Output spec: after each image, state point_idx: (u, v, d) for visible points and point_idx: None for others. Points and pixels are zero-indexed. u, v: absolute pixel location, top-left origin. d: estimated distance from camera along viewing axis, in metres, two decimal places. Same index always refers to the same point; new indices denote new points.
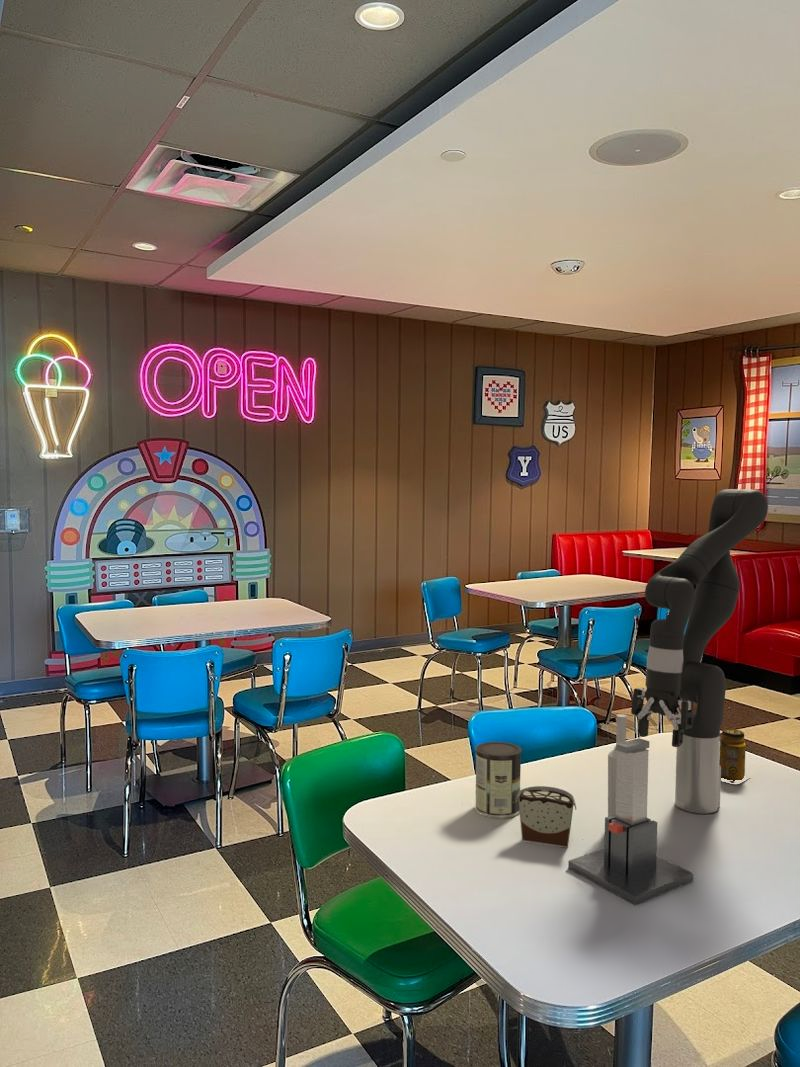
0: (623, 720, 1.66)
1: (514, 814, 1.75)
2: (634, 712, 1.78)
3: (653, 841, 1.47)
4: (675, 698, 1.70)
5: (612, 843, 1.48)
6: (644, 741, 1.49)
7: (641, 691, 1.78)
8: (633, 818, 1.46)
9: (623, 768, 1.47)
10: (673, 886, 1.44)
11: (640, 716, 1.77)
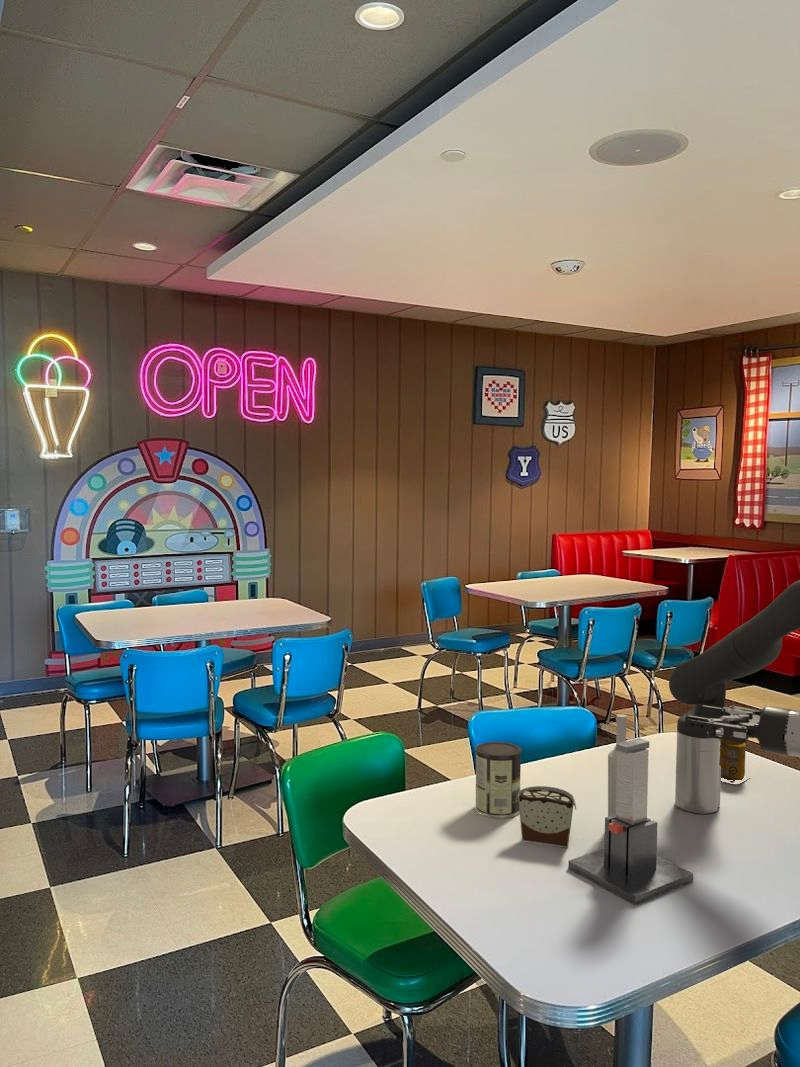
0: (623, 720, 1.66)
1: (514, 814, 1.75)
2: None
3: (653, 841, 1.47)
4: None
5: (612, 843, 1.48)
6: (644, 741, 1.49)
7: None
8: (633, 818, 1.46)
9: (623, 768, 1.47)
10: (673, 886, 1.44)
11: None
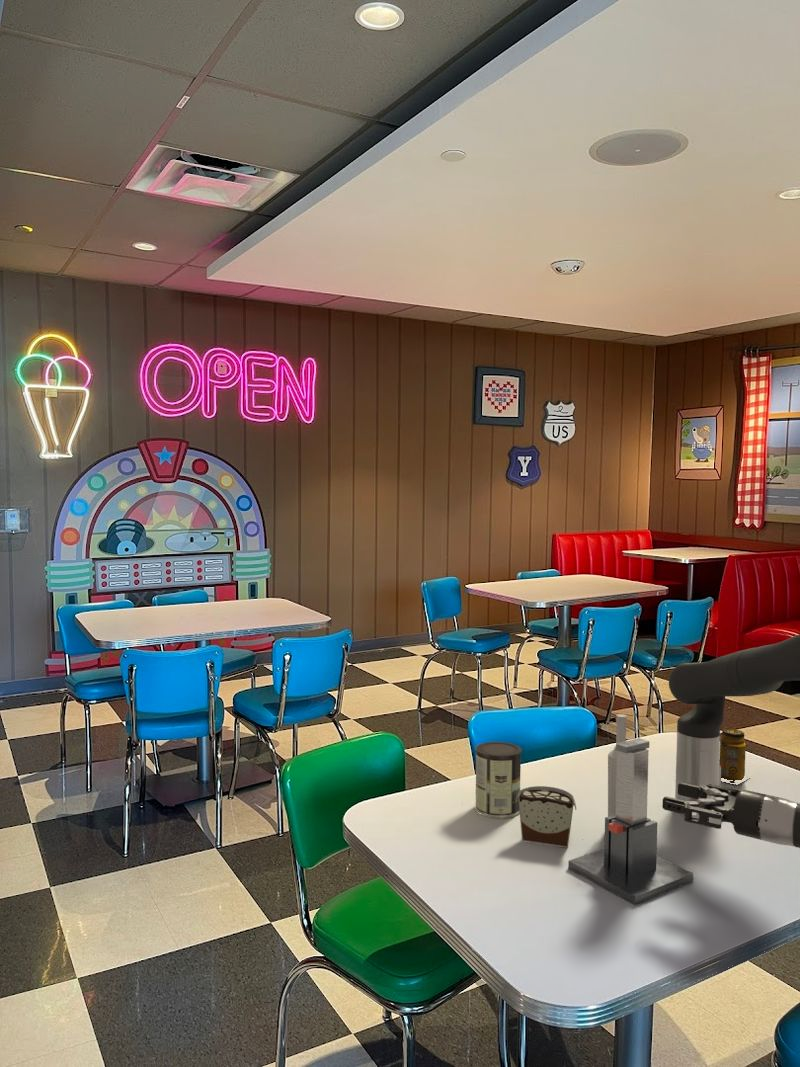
0: (623, 720, 1.66)
1: (514, 814, 1.75)
2: None
3: (653, 841, 1.47)
4: None
5: (612, 843, 1.48)
6: (644, 741, 1.49)
7: None
8: (633, 818, 1.46)
9: (623, 768, 1.47)
10: (673, 886, 1.44)
11: None
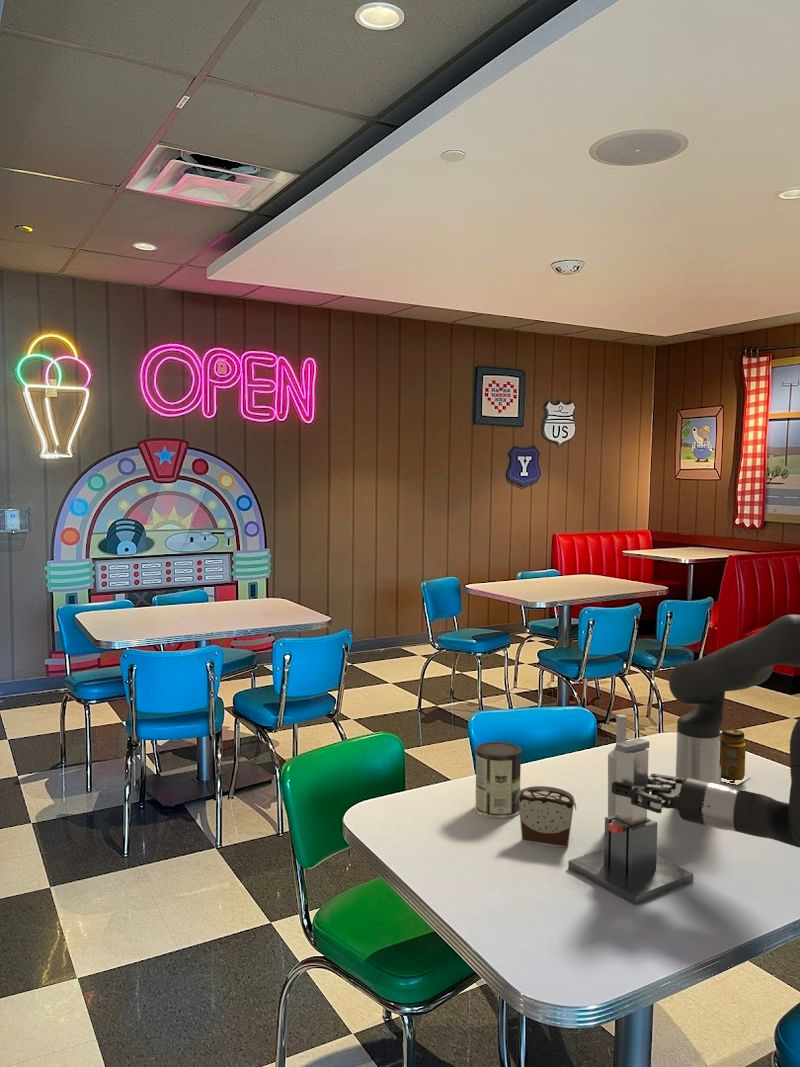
0: (623, 720, 1.66)
1: (514, 814, 1.75)
2: None
3: (653, 841, 1.47)
4: None
5: (612, 843, 1.48)
6: (644, 741, 1.49)
7: None
8: (633, 818, 1.46)
9: (623, 768, 1.47)
10: (673, 886, 1.44)
11: None
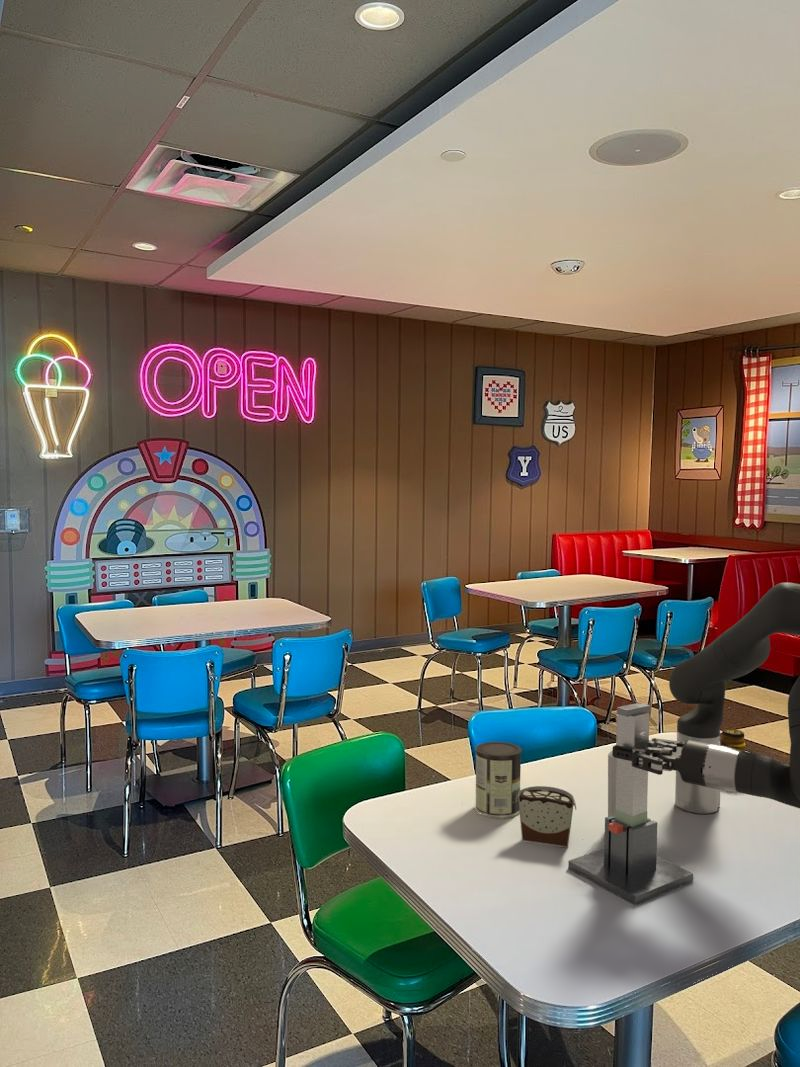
0: None
1: (514, 814, 1.75)
2: None
3: (653, 841, 1.47)
4: None
5: (612, 843, 1.48)
6: (645, 705, 1.48)
7: None
8: (634, 782, 1.45)
9: (624, 732, 1.47)
10: (673, 886, 1.44)
11: None
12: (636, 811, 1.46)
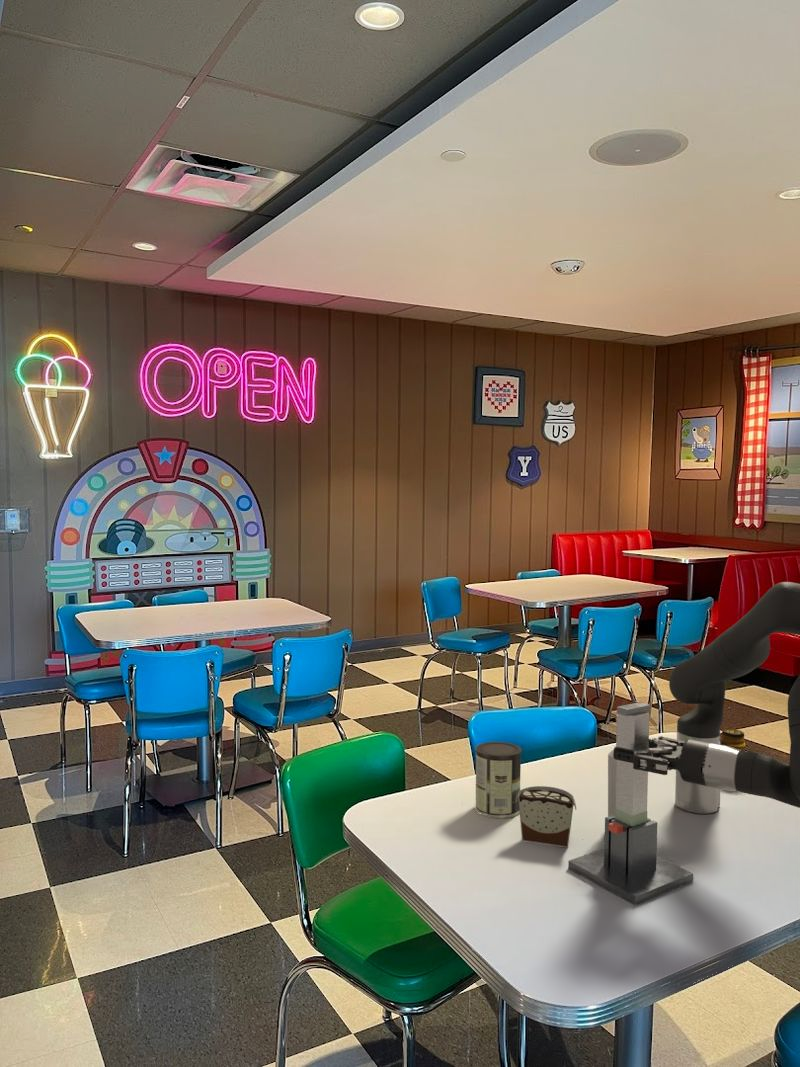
0: None
1: (514, 814, 1.75)
2: None
3: (653, 841, 1.47)
4: None
5: (612, 843, 1.48)
6: (645, 704, 1.48)
7: None
8: (634, 781, 1.45)
9: (624, 731, 1.47)
10: (673, 886, 1.44)
11: None
12: (636, 811, 1.46)
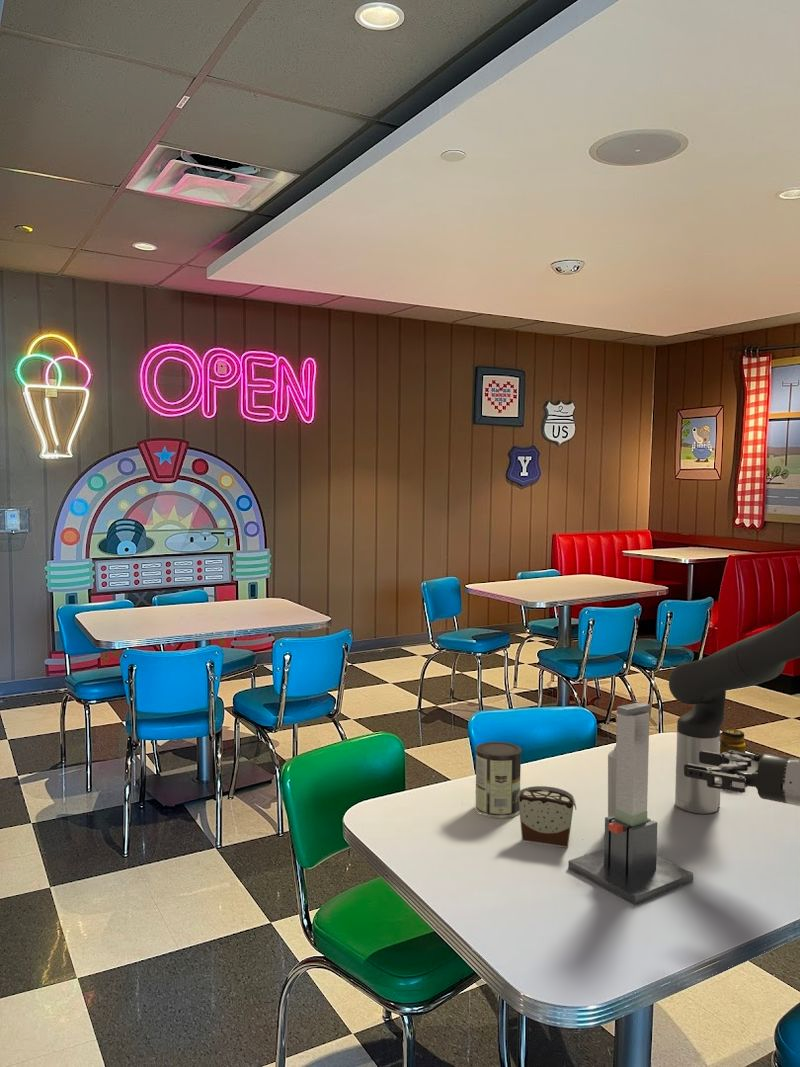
0: None
1: (514, 814, 1.75)
2: None
3: (653, 841, 1.47)
4: None
5: (612, 843, 1.48)
6: (645, 704, 1.48)
7: None
8: (634, 781, 1.45)
9: (624, 731, 1.47)
10: (673, 886, 1.44)
11: None
12: (636, 811, 1.46)
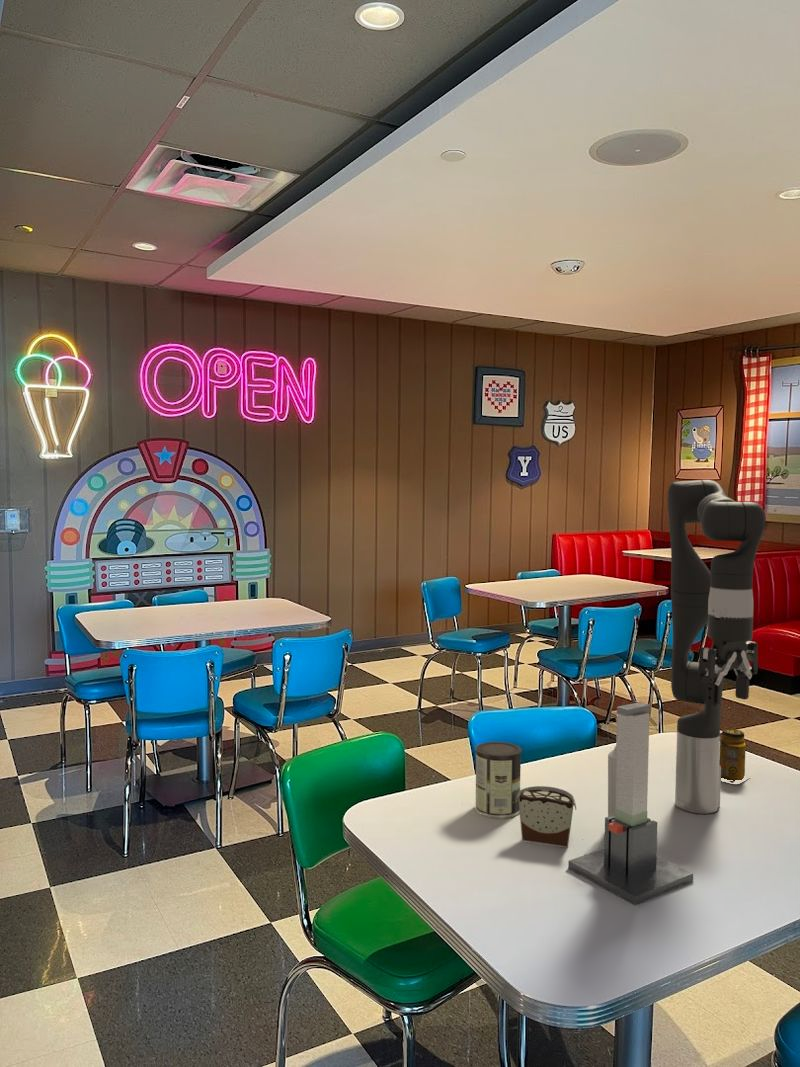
0: None
1: (514, 814, 1.75)
2: None
3: (653, 841, 1.47)
4: (746, 643, 1.44)
5: (612, 843, 1.48)
6: (645, 704, 1.48)
7: None
8: (634, 781, 1.45)
9: (624, 731, 1.47)
10: (673, 886, 1.44)
11: (719, 681, 1.40)
12: (636, 811, 1.46)
